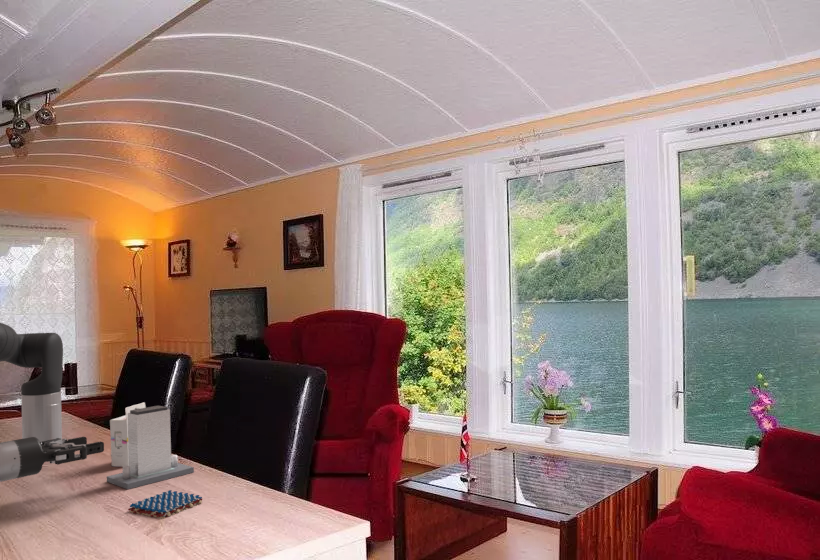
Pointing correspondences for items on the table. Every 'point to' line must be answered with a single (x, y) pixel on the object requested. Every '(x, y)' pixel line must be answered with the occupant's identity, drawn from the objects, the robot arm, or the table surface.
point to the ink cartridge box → (121, 437)
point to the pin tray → (132, 481)
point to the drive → (149, 440)
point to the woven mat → (165, 504)
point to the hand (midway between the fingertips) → (94, 443)
